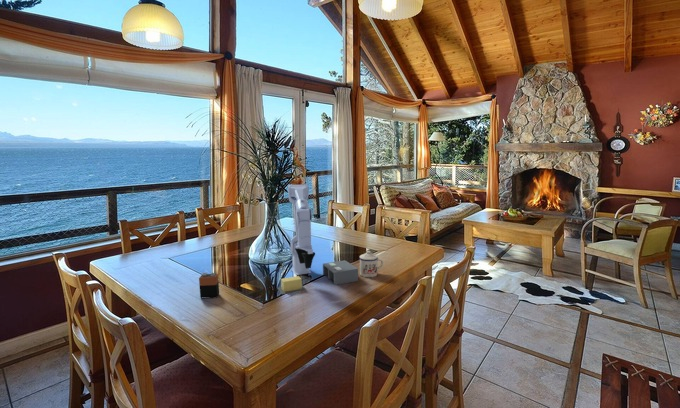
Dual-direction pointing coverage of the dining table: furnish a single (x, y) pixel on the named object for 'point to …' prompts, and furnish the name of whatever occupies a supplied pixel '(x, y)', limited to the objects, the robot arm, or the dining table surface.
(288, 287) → the yellow block
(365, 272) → the teacup with lid
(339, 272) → the socket box
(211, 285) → the battery
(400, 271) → the dining table surface
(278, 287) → the deck mat
